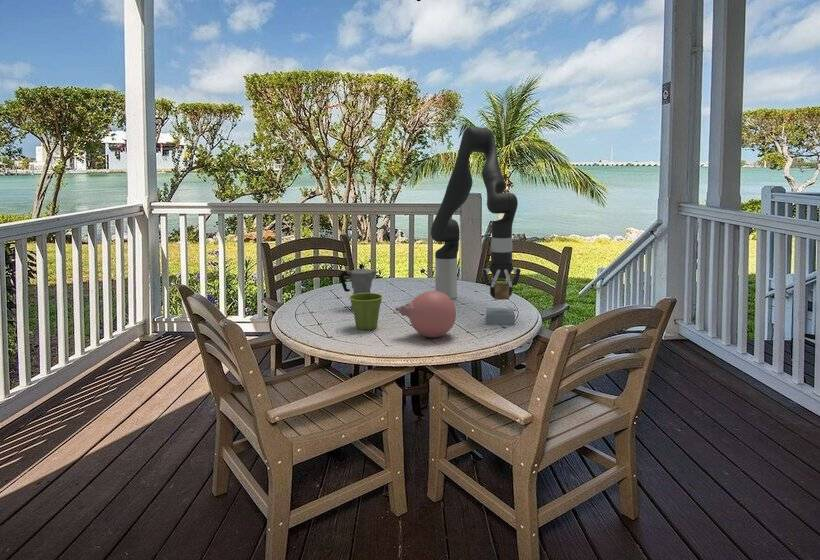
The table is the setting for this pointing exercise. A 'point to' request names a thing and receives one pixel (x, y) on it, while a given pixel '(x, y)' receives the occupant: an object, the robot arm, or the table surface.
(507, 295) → the walnut block
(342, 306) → the table surface
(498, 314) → the slate base block
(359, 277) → the coffeepot
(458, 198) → the robot arm
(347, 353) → the table surface
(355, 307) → the plant pot
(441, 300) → the balloon
